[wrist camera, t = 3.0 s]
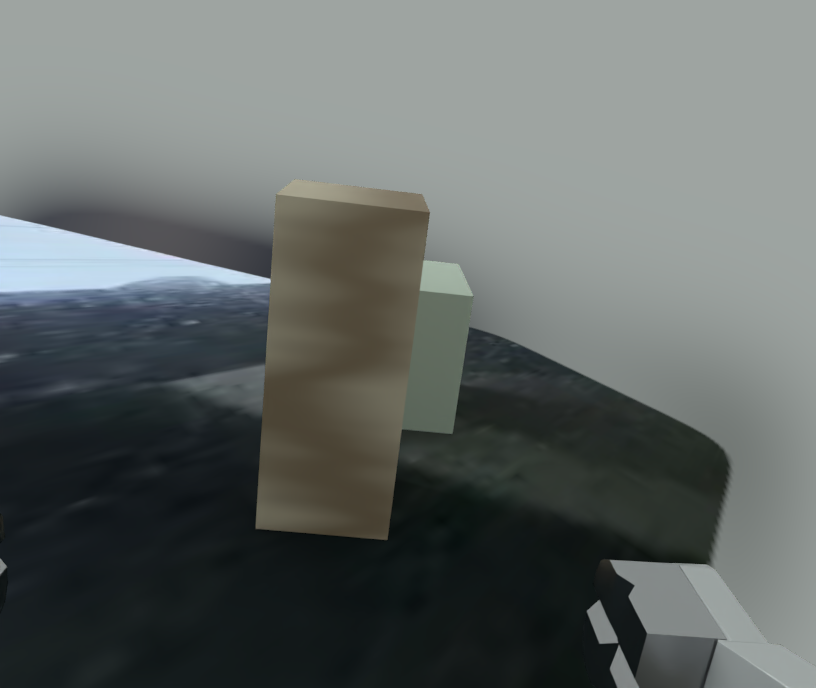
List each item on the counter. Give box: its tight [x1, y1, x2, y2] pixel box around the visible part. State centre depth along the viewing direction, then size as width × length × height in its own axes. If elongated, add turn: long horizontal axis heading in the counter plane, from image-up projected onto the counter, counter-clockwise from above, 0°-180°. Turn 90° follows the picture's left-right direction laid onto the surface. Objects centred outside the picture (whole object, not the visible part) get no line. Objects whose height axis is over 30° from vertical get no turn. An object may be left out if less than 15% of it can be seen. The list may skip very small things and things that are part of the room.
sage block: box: [402, 260, 474, 434], centre depth 31 cm, size 6×6×6 cm
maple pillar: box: [256, 179, 430, 540], centre depth 22 cm, size 4×4×10 cm
